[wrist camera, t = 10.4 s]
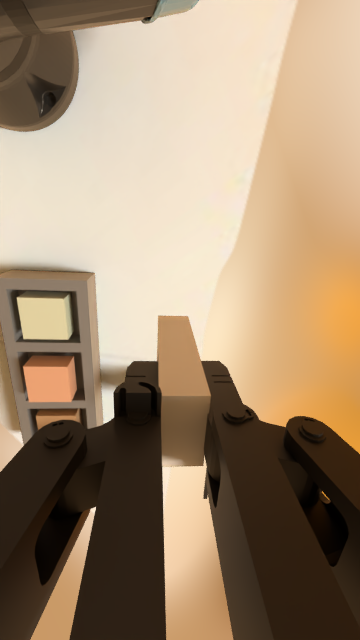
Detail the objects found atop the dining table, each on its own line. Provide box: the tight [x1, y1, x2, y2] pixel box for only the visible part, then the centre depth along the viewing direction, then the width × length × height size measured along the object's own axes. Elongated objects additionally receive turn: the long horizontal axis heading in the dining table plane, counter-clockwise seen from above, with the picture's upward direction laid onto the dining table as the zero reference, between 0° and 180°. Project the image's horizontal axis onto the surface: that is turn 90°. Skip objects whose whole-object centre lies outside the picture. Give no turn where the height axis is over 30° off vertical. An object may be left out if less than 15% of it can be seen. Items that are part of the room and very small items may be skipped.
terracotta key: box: [23, 356, 77, 402], centre depth 42 cm, size 6×6×3 cm
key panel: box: [0, 270, 103, 445], centre depth 45 cm, size 30×12×5 cm, turn 177°
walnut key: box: [36, 408, 83, 430], centre depth 46 cm, size 6×6×3 cm
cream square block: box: [17, 291, 74, 340], centre depth 40 cm, size 6×6×3 cm
